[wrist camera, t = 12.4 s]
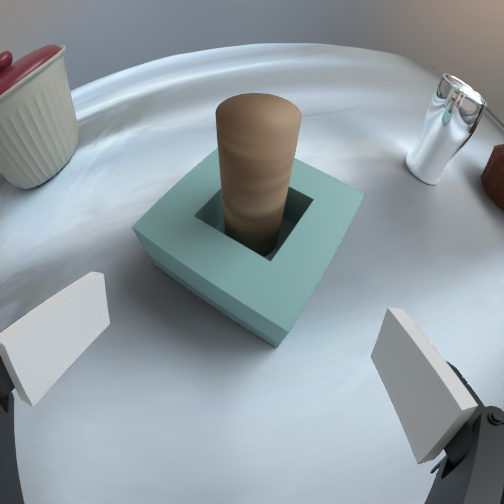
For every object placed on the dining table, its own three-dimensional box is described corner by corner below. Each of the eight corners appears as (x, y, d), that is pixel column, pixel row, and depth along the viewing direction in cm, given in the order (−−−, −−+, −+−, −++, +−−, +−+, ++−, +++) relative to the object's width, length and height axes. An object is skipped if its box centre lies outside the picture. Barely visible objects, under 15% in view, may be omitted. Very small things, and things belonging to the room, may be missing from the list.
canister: (-7, 213, 27) (-72, 120, 8) (37, 138, 35) (0, 52, 17) (68, 201, 27) (-6, 58, 9) (111, 118, 36) (82, 8, 18)
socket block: (343, 233, 26) (364, 194, 21) (276, 348, 20) (288, 331, 15) (236, 176, 29) (235, 133, 24) (154, 264, 24) (132, 227, 18)
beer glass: (419, 188, 30) (470, 99, 17) (394, 152, 33) (431, 67, 20) (448, 187, 31) (496, 111, 18) (425, 154, 34) (462, 79, 21)
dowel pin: (287, 230, 23) (314, 109, 13) (259, 269, 22) (274, 147, 11) (244, 207, 24) (247, 87, 14) (215, 242, 23) (197, 118, 12)
